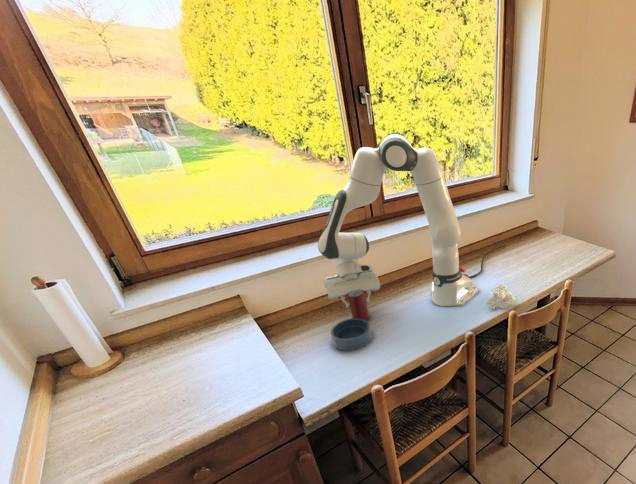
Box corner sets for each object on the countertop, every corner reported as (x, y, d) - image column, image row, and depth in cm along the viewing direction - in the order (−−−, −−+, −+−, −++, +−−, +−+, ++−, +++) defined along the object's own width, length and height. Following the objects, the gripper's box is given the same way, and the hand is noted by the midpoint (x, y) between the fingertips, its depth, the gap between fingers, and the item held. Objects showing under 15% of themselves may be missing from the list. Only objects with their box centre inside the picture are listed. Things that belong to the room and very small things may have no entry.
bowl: (358, 325, 143) (356, 314, 140) (379, 339, 135) (377, 327, 132) (326, 341, 134) (323, 329, 131) (347, 357, 126) (344, 345, 123)
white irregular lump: (516, 307, 149) (500, 291, 147) (501, 318, 153) (485, 303, 151) (520, 293, 159) (505, 278, 157) (506, 304, 163) (491, 290, 161)
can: (363, 311, 150) (358, 287, 144) (372, 316, 146) (367, 292, 140) (349, 317, 146) (344, 293, 140) (358, 323, 142) (353, 298, 136)
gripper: (321, 275, 138) (330, 309, 136) (375, 265, 146) (384, 296, 143) (323, 280, 144) (331, 313, 141) (374, 270, 152) (383, 301, 149)
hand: (358, 304), depth 142 cm, fingers closed on can, 6 cm apart
